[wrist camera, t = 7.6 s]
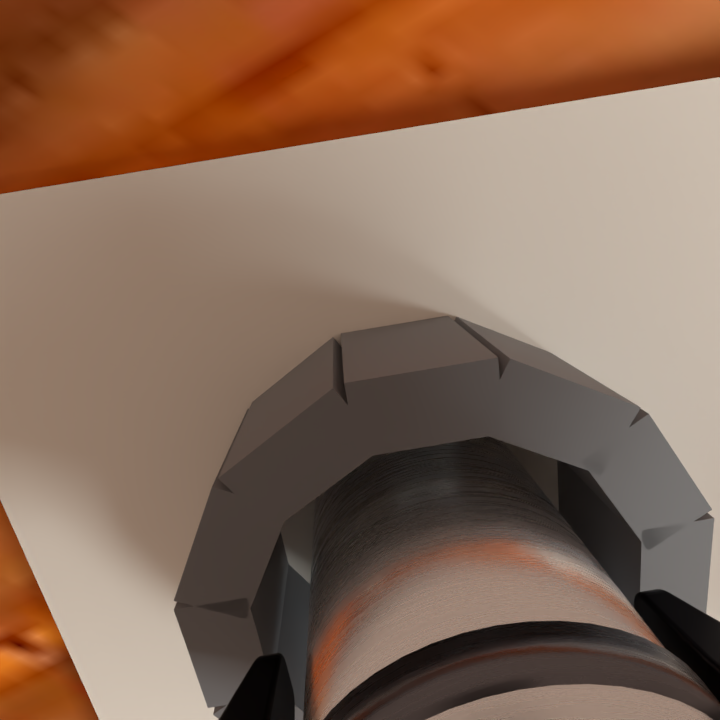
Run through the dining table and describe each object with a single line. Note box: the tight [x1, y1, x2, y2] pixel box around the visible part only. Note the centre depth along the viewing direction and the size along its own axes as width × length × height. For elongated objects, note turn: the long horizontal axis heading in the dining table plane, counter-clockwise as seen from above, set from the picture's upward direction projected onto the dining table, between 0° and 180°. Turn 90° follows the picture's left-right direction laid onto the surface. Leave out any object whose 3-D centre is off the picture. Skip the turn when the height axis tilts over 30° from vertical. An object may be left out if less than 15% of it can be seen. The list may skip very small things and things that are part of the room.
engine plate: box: [0, 77, 720, 720], centre depth 10 cm, size 22×16×4 cm
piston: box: [303, 436, 720, 720], centre depth 7 cm, size 5×5×7 cm
